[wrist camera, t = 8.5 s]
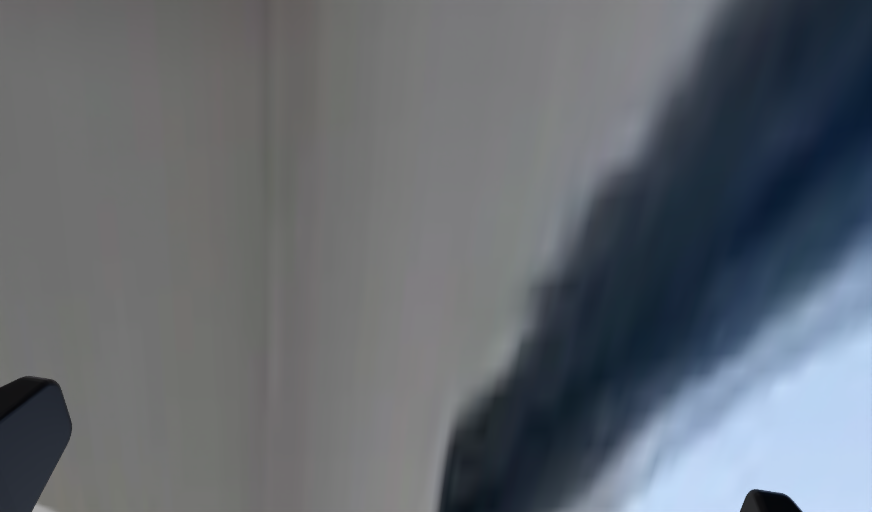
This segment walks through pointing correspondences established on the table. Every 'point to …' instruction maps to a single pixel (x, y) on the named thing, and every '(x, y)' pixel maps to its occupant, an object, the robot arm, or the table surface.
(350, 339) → the table surface
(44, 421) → the robot arm
